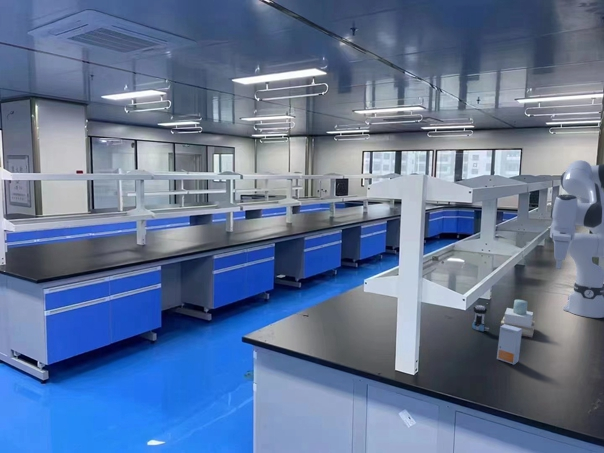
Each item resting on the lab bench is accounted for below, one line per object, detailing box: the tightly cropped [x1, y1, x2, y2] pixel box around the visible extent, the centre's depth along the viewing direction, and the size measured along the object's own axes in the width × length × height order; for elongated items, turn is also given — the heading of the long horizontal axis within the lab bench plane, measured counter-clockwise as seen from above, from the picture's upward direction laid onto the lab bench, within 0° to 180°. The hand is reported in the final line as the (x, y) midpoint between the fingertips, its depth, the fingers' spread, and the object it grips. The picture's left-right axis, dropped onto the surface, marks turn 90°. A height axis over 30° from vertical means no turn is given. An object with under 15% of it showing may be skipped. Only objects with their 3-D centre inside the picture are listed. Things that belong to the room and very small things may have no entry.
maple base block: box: [499, 315, 536, 338], centre depth 186 cm, size 12×12×4 cm
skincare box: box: [496, 324, 522, 366], centre depth 153 cm, size 6×4×12 cm
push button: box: [471, 304, 490, 332], centre depth 184 cm, size 7×5×10 cm
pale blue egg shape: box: [512, 299, 529, 315], centre depth 185 cm, size 5×5×5 cm
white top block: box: [504, 307, 534, 328], centre depth 185 cm, size 10×10×4 cm
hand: (558, 266), depth 186 cm, fingers open, 8 cm apart
